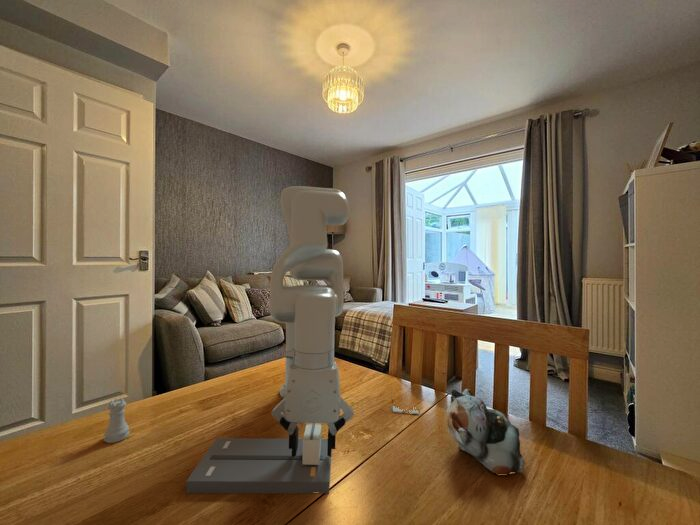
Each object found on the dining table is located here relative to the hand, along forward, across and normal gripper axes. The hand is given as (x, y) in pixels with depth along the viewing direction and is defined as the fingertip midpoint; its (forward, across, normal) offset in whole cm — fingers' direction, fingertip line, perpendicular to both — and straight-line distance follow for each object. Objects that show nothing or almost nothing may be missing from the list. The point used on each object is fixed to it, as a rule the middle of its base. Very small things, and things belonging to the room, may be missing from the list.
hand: (312, 450), depth 57 cm
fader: (+1, 0, 0) cm, 1 cm away
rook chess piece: (+4, -43, +9) cm, 44 cm away
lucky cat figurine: (+4, +35, +4) cm, 35 cm away
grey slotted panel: (+3, -8, 0) cm, 9 cm away
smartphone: (+4, +23, +28) cm, 36 cm away
